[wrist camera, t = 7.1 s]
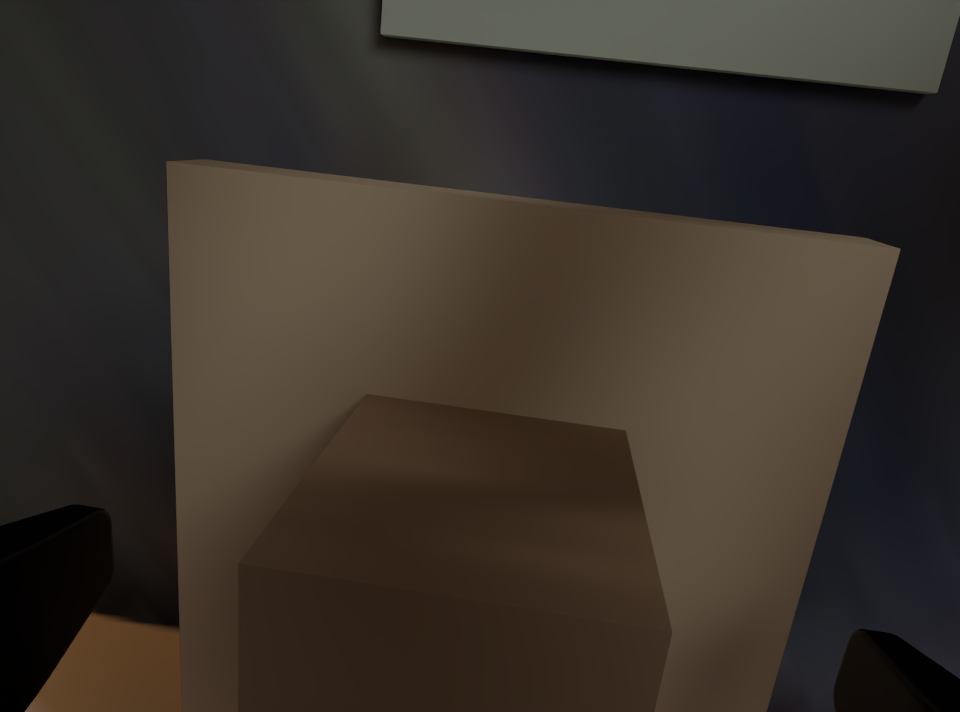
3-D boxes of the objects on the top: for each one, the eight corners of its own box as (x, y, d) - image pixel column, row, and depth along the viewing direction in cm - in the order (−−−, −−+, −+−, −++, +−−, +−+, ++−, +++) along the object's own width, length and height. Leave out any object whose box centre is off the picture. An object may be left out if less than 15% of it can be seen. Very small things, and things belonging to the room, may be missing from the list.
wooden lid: (865, 238, 9) (1195, 343, 4) (720, 766, 12) (828, 1182, 7) (204, 159, 10) (-130, 176, 5) (210, 678, 13) (-3, 1007, 8)
